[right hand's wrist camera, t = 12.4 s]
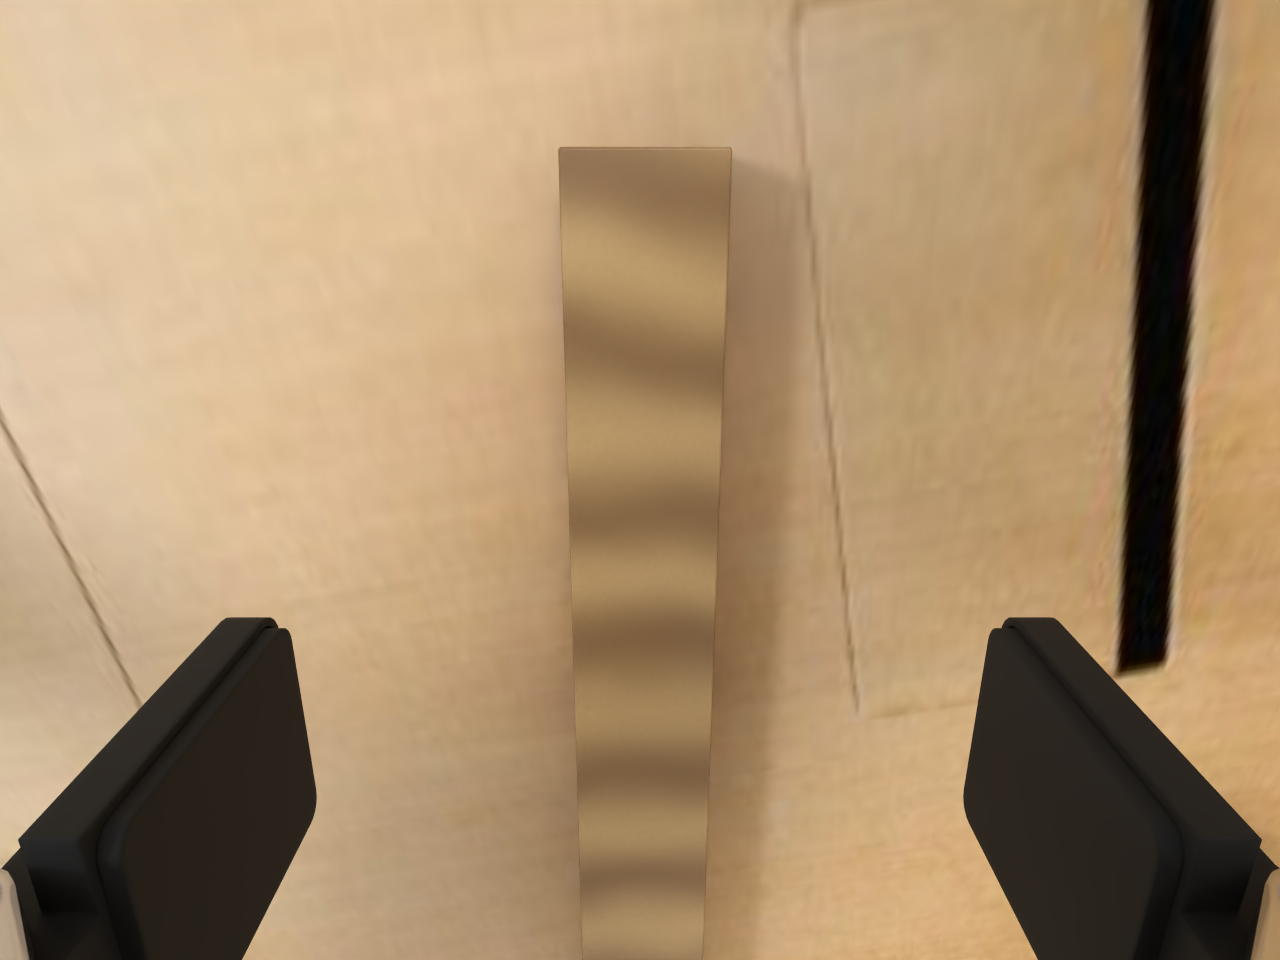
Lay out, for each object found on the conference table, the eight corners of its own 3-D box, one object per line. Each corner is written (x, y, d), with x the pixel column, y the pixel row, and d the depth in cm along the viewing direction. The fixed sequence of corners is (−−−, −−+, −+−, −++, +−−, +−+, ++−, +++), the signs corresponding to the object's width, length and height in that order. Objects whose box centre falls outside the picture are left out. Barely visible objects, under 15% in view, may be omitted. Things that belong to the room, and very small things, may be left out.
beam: (571, 150, 33) (557, 146, 28) (716, 151, 33) (732, 147, 28) (593, 1052, 51) (588, 1161, 45) (689, 1052, 51) (695, 1161, 45)
